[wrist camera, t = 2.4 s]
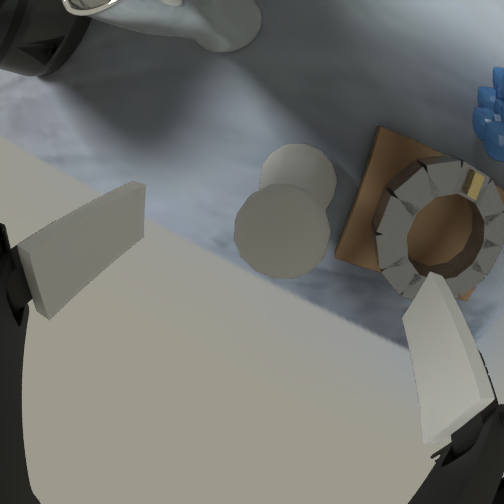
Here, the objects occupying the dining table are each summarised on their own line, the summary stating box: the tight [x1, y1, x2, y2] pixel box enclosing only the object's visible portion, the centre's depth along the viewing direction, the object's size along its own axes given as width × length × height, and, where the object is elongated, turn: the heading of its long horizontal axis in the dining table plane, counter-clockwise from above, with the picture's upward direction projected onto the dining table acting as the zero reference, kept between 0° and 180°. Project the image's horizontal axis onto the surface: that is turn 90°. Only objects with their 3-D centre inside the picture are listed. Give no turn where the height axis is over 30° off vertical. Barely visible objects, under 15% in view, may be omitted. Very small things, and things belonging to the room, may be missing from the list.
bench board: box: [335, 126, 504, 301], centre depth 21 cm, size 16×12×1 cm
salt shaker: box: [234, 144, 337, 279], centre depth 17 cm, size 6×6×13 cm
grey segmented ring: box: [371, 155, 504, 300], centre depth 19 cm, size 12×12×3 cm
